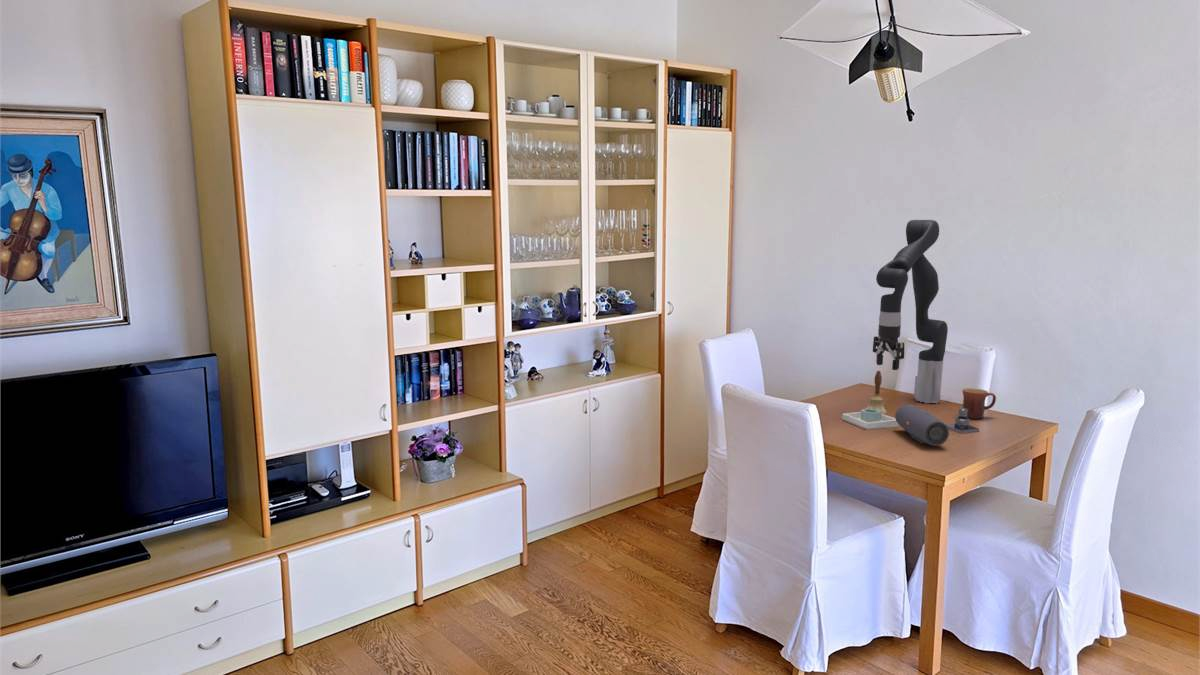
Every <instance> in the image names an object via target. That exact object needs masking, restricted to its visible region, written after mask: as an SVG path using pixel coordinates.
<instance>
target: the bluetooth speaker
mask: <svg viewBox="0 0 1200 675" xmlns="http://www.w3.org/2000/svg"><path fill="white" fill-rule="evenodd" d="M894 418H895V419H896V421H897V423H898V424H899V427H901V428H902V429H904V430H905V431H906V432H907V433H908V434H909V436H910V437H911V438H912V439H914V440H916V441H917V442H918V443H921V444H923V445H924V444H925V445H930V446H937V447H938V446H942V445H943V444H944V443H945V442H946V441H947V440H948V438H949V436H950V429H948V427H947V426H946V425H947V424H946V423H944V421H943V420H940V419H939V418H938V417H936V416H934V415H933V414H932V413H930V412H928V411H926V410H924V409H923V408H920V407H919V406H915V405H913V404H907V403H906V404H902V405H901V406H899V408H898V409H897V410H896V411H895V416H894Z"/></svg>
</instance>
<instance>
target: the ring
mask: <svg viewBox="0 0 1200 675" xmlns="http://www.w3.org/2000/svg"><path fill="white" fill-rule="evenodd" d="M860 412H861V420H863V421H865V422H878V421H880V419H881V416H882V413H881V411H879V410H876V409H866V408H862V409H861V411H860Z"/></svg>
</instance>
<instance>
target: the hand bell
mask: <svg viewBox="0 0 1200 675" xmlns="http://www.w3.org/2000/svg"><path fill="white" fill-rule="evenodd" d="M882 378H883V377H882V373H881V371H880V370H877V371H876V373H875V376H874V386H875V390H874V396H872V397H870V400H869V403H868V405H867V407H866V408H865V409H876V410H879V411H881V413H882V414H884V415H887V414H888V410H886V408H885V404H884V399H883V398H882V397H881V395H880V394H881V393H880V392H881V391H880V390H881V384H882V380H883V379H882Z"/></svg>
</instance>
